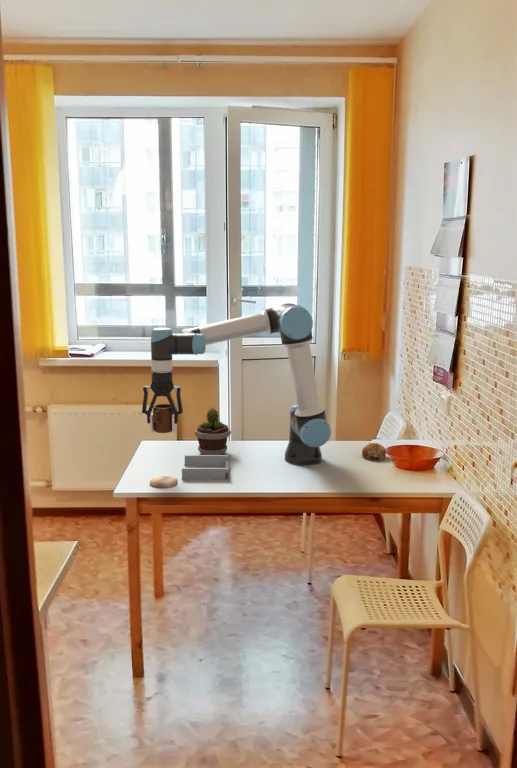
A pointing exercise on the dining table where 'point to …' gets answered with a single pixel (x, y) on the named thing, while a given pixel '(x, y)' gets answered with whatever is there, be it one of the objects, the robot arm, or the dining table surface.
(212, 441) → the flowerpot
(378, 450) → the bread roll
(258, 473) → the dining table surface
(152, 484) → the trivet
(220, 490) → the dining table surface
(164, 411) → the mug
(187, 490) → the dining table surface
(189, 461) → the u-shaped frame
